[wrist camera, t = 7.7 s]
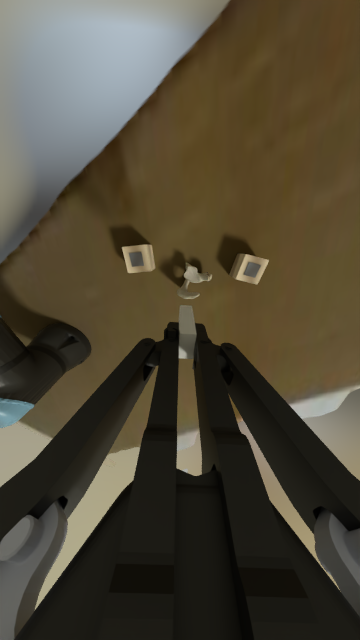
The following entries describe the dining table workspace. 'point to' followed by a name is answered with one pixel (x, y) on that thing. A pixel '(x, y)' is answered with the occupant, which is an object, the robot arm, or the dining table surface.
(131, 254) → the marked cube 2
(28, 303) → the dining table surface
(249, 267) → the marked cube 1
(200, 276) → the white irregular piece
